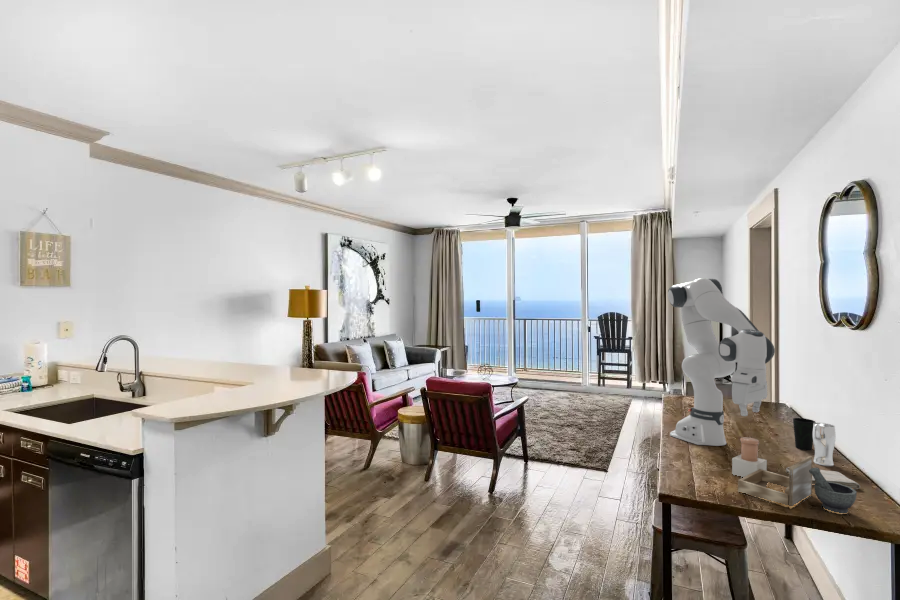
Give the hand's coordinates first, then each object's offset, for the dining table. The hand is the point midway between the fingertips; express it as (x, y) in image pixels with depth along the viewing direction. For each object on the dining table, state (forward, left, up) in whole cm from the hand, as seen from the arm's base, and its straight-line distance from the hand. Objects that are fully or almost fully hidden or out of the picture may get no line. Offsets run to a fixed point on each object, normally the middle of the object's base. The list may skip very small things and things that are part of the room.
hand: (750, 413), depth 166 cm
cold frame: (+11, -10, -22) cm, 27 cm away
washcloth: (+16, +16, -23) cm, 32 cm away
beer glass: (+11, +37, -23) cm, 45 cm away
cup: (0, +52, -23) cm, 57 cm away
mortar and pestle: (+26, -9, -23) cm, 35 cm away
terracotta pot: (0, 0, -16) cm, 16 cm away
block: (0, 0, -22) cm, 22 cm away
